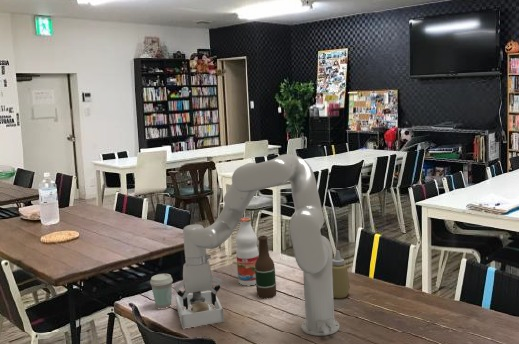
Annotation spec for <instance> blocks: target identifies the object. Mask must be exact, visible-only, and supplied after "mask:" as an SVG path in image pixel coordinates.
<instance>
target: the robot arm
mask: <svg viewBox="0 0 519 344" xmlns="http://www.w3.org/2000/svg"><path fill="white" fill-rule="evenodd" d="M287 182H289V184H290V187H291V188H290V189H291V196H292V200H293V205H294V213H293V214H292V216H291V218H290V220H289V233H290V238H291V239H290V240H291V244H292V249H293V254H294V258H295V261H296V264H297V266H298V268H299V269H300V270H301V271H303V273H302V274H303V291H304V292H303V293H304V294H303V295H304V311H305V320H304V321H303V322H302V323H301V330H302V331H303V332H304V333H305V334H308V335H311V336H317V337H318V336H320V337H323V336H324V337H325V336H329V335H332V334H335V333H337V332H338V331H339V329H340V323H339V321H337V320H336V319H335V306H334V305H335V304H334V297H333V278H332V260H333V247H332V246H333V245H332V243H331V242H330V241H329V239H328V238H327V237H326V236H324V235H322V233H321V229H322V228H323V225H324V223H325V217H324V211H323V209H322V208H323V207H322V202H321V198H320V194H319V189H318V185H317V180H316V177H315V173H314V171H313V169H312V167H311V165H310V164H309V163H308V162H307V161H306V159H303V158H302V157H300V156H298V155H295V154H290V153H286V154H285V153H284V154H281V155H278V156H277V157H275V158H273V159H269V160H266V161H262V162H259V163H258V162H257V163H256V162H248V163H245V164H243V165H241V166H239V167H237V168H236V169H235V170H234V172H233V173H232V176H231V185H230V187H229V188H228V189H227V191H226V193H225V194H224V196H223V199H222V200H223V203H224V205H223V208H222V210H221V211H220V214H219V215H218V217H216V218H217V219H216V220H215V221H214V223H212V224H211V225H209V226H205V227H204V226H203V225H202V224H199V223H198V224H189V225H186V226H184V227H183V229H182V235H183V248H184V257H185V263H184V264H183V266H182V267H183V268H182V279H183V280H182V281H180V282H179V283H177V284H176V285H174V286H173V289H174V291H175V292H176V294H177V296H180V297H182V298H183V306H184V307H186V310H187V309H188V301H187V295H188V294H193V292H200V291H201V292H206V291H211V299H212V304H213V305H215V302H216V296H217V293H218V292H219V290H220V289H221V287H222V284H223V279H221V278H218V277H215V276H213V275H212V269H211V265H210V261H209V260H210V259H211V258H212V256H211V254H208V253H207V249H209V250H213V249H217V248H218V247H220V246H221V245H222V244H224V242H226V241H227V240H229V238H230V237H231V236H232V234H233V233H234V231H235V229H236V228H237V226H238V225H239V224H240V222H239V221H240V220H241V218H243V215H244V214H245V211H246V209H247V207H248V206H249V204H250V203H251V201H252V199H253V198H254V197H255V195H256V194H257V192H258V191H261V190H265V189H271V188H276V187H279V186H282V185H284V184H286V183H287ZM213 282H215V283H217V284H216V285H215V287H214V283H213ZM182 287H183V289H184V290H183V291H181V290H180V288H182Z"/></svg>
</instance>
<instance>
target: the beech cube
mask: <svg viewBox="0 0 519 344" xmlns="http://www.w3.org/2000/svg"><path fill="white" fill-rule="evenodd" d="M192 309H193V313H195V312H202V311H208V310H209V306H208V305H207V303H206V302H200V303H195V304H192Z"/></svg>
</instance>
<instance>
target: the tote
mask: <svg viewBox="0 0 519 344" xmlns="http://www.w3.org/2000/svg"><path fill="white" fill-rule="evenodd" d="M201 296H202V297H204V298H205V302H206V303H211V302H212V299H211V291H210V290H207V291H201ZM191 298H193V293H189V294H188V295H187V301H188V306H191V302H190V299H191ZM175 303H176V310H177V309H178V310H177V313H179V314H178V317H180V318H179V321H181V322H180V324H182V325H181V328H185V327H192V326H198V325H206V324H212V325H214V324H213V323H218V322H224V323H225V318H224V309H223V307H222V305H221V304H222V303H221V302H220V300H219V298H218V297H217V295H216V302H215V305H214V306H215V308H216V309H214V307H212V304H210V305H211V307H210V305H209V304H207V305H208V306H209V310H208V311H202V312H195V313H193V311H192V310H191V311H190V310H189V309H187V310H185V309H184V311H183V310H182V308H181V307H184V306H183V298H182V297H180V296H179V295H176V296H175ZM189 308H190V307H189ZM218 324H219V323H218ZM206 326H207V325H206Z"/></svg>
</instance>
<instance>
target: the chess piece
mask: <svg viewBox="0 0 519 344" xmlns="http://www.w3.org/2000/svg"><path fill="white" fill-rule="evenodd" d="M201 292H202V291H200V292H193V293H192V294H193V298H191V299H190V302H191V305H192V304H195V303H200V302H205V298H204V297H202V296H201ZM191 310H192V311H193V309H192V308H191Z"/></svg>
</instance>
